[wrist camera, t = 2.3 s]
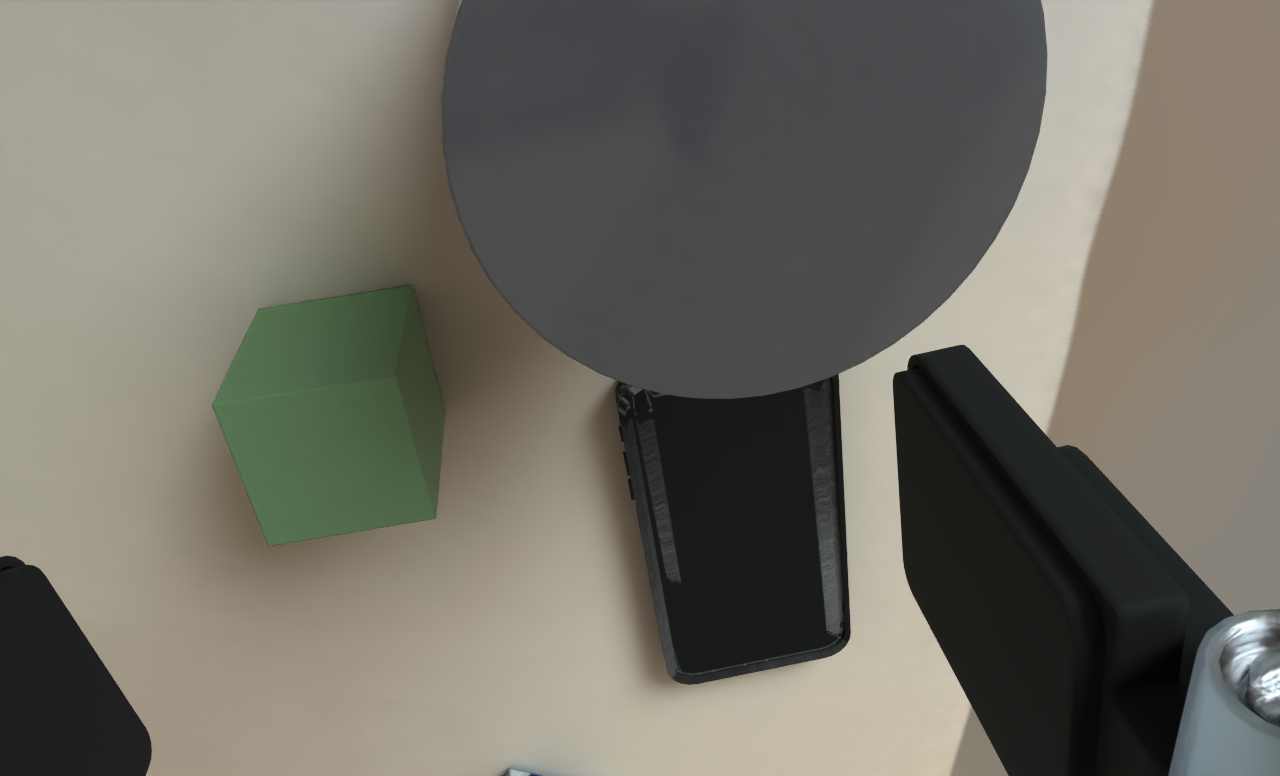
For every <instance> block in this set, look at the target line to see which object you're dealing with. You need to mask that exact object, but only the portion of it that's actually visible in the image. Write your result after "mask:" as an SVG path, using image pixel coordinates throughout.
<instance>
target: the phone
mask: <svg viewBox="0 0 1280 776" xmlns="http://www.w3.org/2000/svg"><path fill="white" fill-rule="evenodd" d="M616 403H617V408H618V413H619V419H620V424H621V426H619V430H620V435H621V441H622V442H623V441H624V445H625V451H626V452H623V454H624V459H625V464H626V469H627V475H630V477H631V479H628V483H629V488H630V493H631V499H632V500H635V504H636V509H637V514H638V520H639V525H640V530H641V536H642V541H643V546H644V552H645V557H646V562H647V568H648V573H649V578H650V584H651V589H652V594H653V600H654V605H655V610H656V616H657V621H658V626H659V632H660V637H661V642H662V647H663V653H664V658H665V663H666V668H667V671H668V674H669V676H670V677H671V678H672V679H673V680H675V681H677V682H679V683H682V684H689V685H690V684H699V683H704V682H709V681H714V680H719V679H724V678H729V677H733V676H738V675H743V674H748V673H753V672H758V671H763V670H768V669H773V668H778V667H783V666H787V665H792V664H797V663H802V662H807V661H812V660H817V659H822V658H826V657H829V656H832V655H834V654H836V653H838V652H839V651H841V650H842V649H843V648H844V647H845V646H846V644H847V643H848V641H849V639H850V633H851V630H850V609H849V588H848V566H847V545H846V524H845V502H844V481H843V460H842V438H841V417H840V396H839V374H837V375H834V376H832V377H830V378H827V379H824V380H821V381H818V382H815V383H812V384H809V385H806V386H803V387H800V388H796V389H791V390H787V391H782V392H778V393H773V394H769V395H763V396H753V397H744V398H734V399H701V398H690V397H682V396H674V395H666V394H661V393H657V392H654V391H650V390H646V389H642V388H638V387H634V386H630V385H628V384H625V383H623V382H620V381H619V382H618V384H617V387H616Z"/></svg>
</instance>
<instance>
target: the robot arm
mask: <svg viewBox="0 0 1280 776" xmlns="http://www.w3.org/2000/svg"><path fill="white" fill-rule="evenodd" d="M893 395H894V412H895V429H896V446H897V463H898V480H899V497H900V514H901V531H902V548H903V562H904V569H905V574H906V577H907V581H908V584H909V586H910V589H911V591H912V594H913V596H914V598H915V600H916V601H917V603H918V605H919V607H920V609H921V611H922V613H923V615H924V617H925V618H926V620H927V622H928V624H929V626H930V628H931V630H932V632H933V634H934V635H935V637H936V639H937V641H938V643H939V645H940V647H941V649H942V651H943V653H944V654H945V656H946V658H947V660H948V662H949V664H950V666H951V668H952V670H953V671H954V673H955V675H956V677H957V679H958V681H959V683H960V685H961V687H962V688H963V690H964V692H965V694H966V696H967V698H968V700H969V702H970V704H971V705H972V707H973V709H974V711H975V713H976V715H977V717H978V718H979V721H980V722H981V724H982V726H983V728H984V730H985V732H986V734H987V736H988V737H989V739H990V741H991V743H992V745H993V747H994V749H995V750H996V753H997V755H998V756H999V758H1000V760H1001V762H1002V764H1003V766H1004V768H1005V770H1006V771H1007V773H1008V775H1009V776H1280V609H1278V610H1257V611H1248V612H1245V613H1242V614H1238V615H1235V616H1234V615H1233V614H1232V613H1231V611H1230V610H1229V609H1228V608H1227V607H1226V606H1225V605H1224V604H1223V603H1222V602H1221V601H1220V599H1219V598H1218V597H1217V596H1216V595H1215V594H1214V593H1213V592H1212V591H1211V590H1210V589H1209V588H1208V587H1207V585H1206V584H1205V583H1204V582H1203V581H1202V580H1201V579H1200V578H1199V577H1198V576H1197V575H1196V574H1195V572H1194V571H1193V570H1192V569H1191V568H1190V567H1189V566H1188V565H1187V564H1186V563H1185V562H1184V561H1183V559H1182V558H1181V557H1180V556H1179V555H1178V554H1177V553H1176V552H1175V551H1174V550H1173V549H1172V548H1171V546H1169V544H1168V543H1167V542H1166V541H1165V540H1164V539H1163V538H1162V537H1161V536H1160V535H1159V534H1158V532H1157V531H1156V530H1155V529H1154V528H1153V527H1152V526H1151V525H1150V524H1149V523H1148V522H1147V520H1146V519H1145V518H1144V517H1143V516H1142V515H1141V514H1140V513H1139V512H1138V511H1137V510H1136V509H1135V507H1134V506H1133V505H1132V504H1131V503H1130V502H1129V501H1128V500H1127V499H1126V498H1125V497H1124V496H1123V494H1122V493H1121V492H1120V491H1119V490H1118V489H1117V488H1116V487H1115V486H1114V485H1113V484H1112V483H1111V481H1110V480H1109V479H1108V478H1107V477H1106V476H1105V475H1104V474H1103V473H1102V472H1101V471H1100V470H1099V468H1097V467H1096V465H1095V464H1094V463H1093V462H1092V461H1091V460H1090V459H1089V458H1088V457H1087V456H1086V455H1085V454H1084V453H1083V452H1082V451H1080V450H1079V449H1078V448H1077V447H1073V446H1069V445H1066V446H1062V447H1056V446H1055V445H1054V444H1053V442H1052V441H1051V440H1050V439H1049V438H1048V437H1047V436H1046V435H1045V433H1044V432H1043V431H1042V430H1041V429H1040V428H1039V427H1038V426H1037V424H1036V423H1035V422H1034V421H1033V420H1032V419H1031V418H1030V417H1029V415H1028V414H1027V413H1026V412H1025V411H1024V410H1023V409H1022V408H1021V406H1020V405H1019V404H1018V403H1017V402H1016V401H1015V400H1014V398H1013V397H1012V396H1011V395H1010V394H1009V393H1008V392H1007V391H1006V389H1005V388H1004V387H1003V386H1002V385H1001V384H1000V383H999V382H998V380H997V379H996V378H995V377H994V376H993V375H992V374H991V373H990V371H989V370H988V369H987V368H986V367H985V366H984V365H983V364H982V362H981V361H980V360H979V359H978V358H977V357H976V356H975V355H974V353H973V352H972V351H971V350H970V349H969V348H968V347H966V346H965V345H958V346H953V347H949V348H944V349H940V350H935V351H931V352H926V353H922V354H917V355H913V356H911V357H910V359H909V362H908V370H907V371H902V372H898V373H895V375H894V378H893ZM151 752H152V749H151V740H150V737H149V733H148V731H147V729H146V727H145V726H144V724H143V723H142V721H141V720H140V718H139V717H138V715H137V714H136V712H135V711H134V709H133V708H132V706H131V705H130V703H129V702H128V700H127V699H126V697H125V696H124V694H123V693H122V691H121V690H120V688H119V687H118V685H117V684H116V682H115V680H114V679H113V677H112V676H111V674H110V673H109V671H108V670H107V668H106V667H105V665H104V664H103V662H102V661H101V659H100V658H99V656H98V655H97V653H96V652H95V650H94V649H93V647H92V646H91V644H90V643H89V641H88V640H87V638H86V637H85V635H84V633H83V632H82V630H81V629H80V627H79V626H78V624H77V623H76V621H75V620H74V618H73V617H72V615H71V614H70V612H69V611H68V609H67V608H66V606H65V605H64V603H63V602H62V600H61V599H60V597H59V596H58V594H57V593H56V591H55V590H54V588H53V586H52V585H51V583H50V582H49V580H48V579H47V577H46V576H45V574H44V573H43V572H42V571H41V570H40V569H39V568H37V567H35V566H33V565H25V564H24V562H23V561H21V560H19V559H18V558H16V557H12V556H4V557H0V776H146V773H147V770H148V768H149V765H150V761H151Z"/></svg>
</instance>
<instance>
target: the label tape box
mask: <svg viewBox="0 0 1280 776" xmlns="http://www.w3.org/2000/svg"><path fill="white" fill-rule="evenodd" d="M505 776H543V775H538V774H534V773H529V772H524V771H519V770H515V769H511V768H510V769H509V770H508V771H507V773H506V774H505Z"/></svg>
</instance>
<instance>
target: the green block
mask: <svg viewBox="0 0 1280 776" xmlns="http://www.w3.org/2000/svg"><path fill="white" fill-rule="evenodd" d="M212 406H213V409H214V411H215V414H216V416H217V419H218V421H219V424H220V426H221V429H222V431H223V434H224V436H225V439H226V441H227V444H228V446H229V449H230V451H231V454H232V456H233V459H234V461H235V464H236V466H237V469H238V471H239V474H240V476H241V479H242V481H243V484H244V486H245V489H246V491H247V494H248V496H249V499H250V502H251V504H252V507H253V509H254V512H255V514H256V517H257V519H258V522H259V524H260V527H261V529H262V532H263V534H264V537H265V539H266V542H267V544H268V546H274V545H280V544H286V543H292V542H298V541H304V540H310V539H316V538H322V537H328V536H334V535H340V534H346V533H352V532H358V531H364V530H370V529H376V528H382V527H388V526H394V525H400V524H406V523H412V522H418V521H424V520H430V519H435V518H436V515H437V503H438V491H439V480H440V468H441V456H442V445H443V433H444V422H445V410H444V406H443V402H442V398H441V394H440V391H439V387H438V383H437V379H436V375H435V371H434V367H433V363H432V359H431V355H430V351H429V347H428V343H427V339H426V335H425V331H424V328H423V324H422V320H421V316H420V312H419V308H418V304H417V300H416V296H415V292H414V288H413V286H405V287H398V288H392V289H385V290H379V291H372V292H366V293H359V294H353V295H346V296H340V297H333V298H327V299H320V300H314V301H307V302H301V303H294V304H288V305H281V306H275V307H268V308H262V309H258V311H257V313H256V315H255V317H254V319H253V321H252V323H251V325H250V327H249V329H248V331H247V333H246V336H245V338H244V340H243V342H242V344H241V346H240V348H239V350H238V352H237V354H236V356H235V358H234V360H233V362H232V365H231V367H230V369H229V371H228V373H227V375H226V377H225V379H224V381H223V383H222V385H221V387H220V389H219V391H218V394H217V396H216V398H215V400H214V402H213V404H212Z"/></svg>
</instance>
